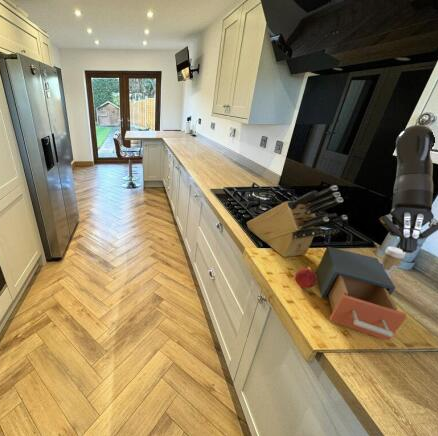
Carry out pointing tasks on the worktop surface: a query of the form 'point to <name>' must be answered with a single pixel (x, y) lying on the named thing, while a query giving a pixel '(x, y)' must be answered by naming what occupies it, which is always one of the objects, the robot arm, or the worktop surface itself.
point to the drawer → (364, 307)
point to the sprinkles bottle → (391, 259)
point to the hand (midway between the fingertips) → (407, 252)
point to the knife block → (297, 222)
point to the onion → (305, 278)
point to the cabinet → (350, 270)
